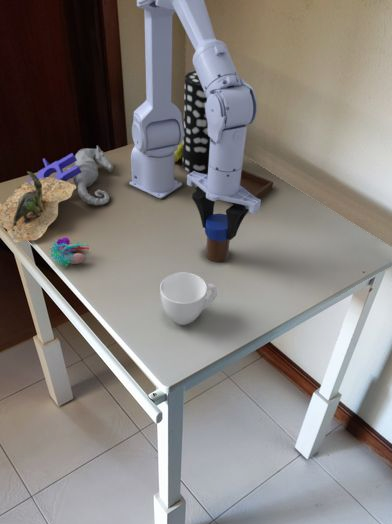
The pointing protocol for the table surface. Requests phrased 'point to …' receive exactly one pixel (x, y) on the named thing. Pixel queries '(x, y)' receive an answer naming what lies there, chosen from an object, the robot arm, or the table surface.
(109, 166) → the seahorse
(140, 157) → the robot arm
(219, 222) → the jar lid
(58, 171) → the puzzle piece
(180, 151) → the lemon
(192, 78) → the spotted tube
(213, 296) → the cup
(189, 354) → the table surface
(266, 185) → the tray
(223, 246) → the jar
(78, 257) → the anatomy model
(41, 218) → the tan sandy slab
